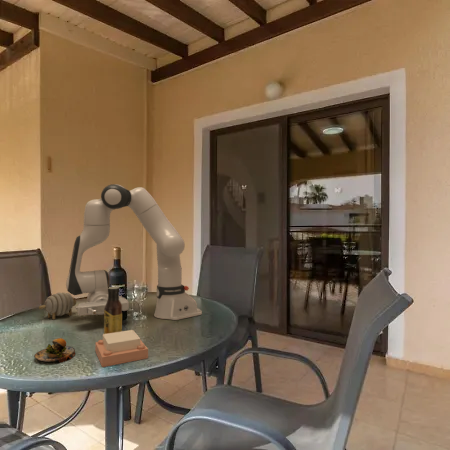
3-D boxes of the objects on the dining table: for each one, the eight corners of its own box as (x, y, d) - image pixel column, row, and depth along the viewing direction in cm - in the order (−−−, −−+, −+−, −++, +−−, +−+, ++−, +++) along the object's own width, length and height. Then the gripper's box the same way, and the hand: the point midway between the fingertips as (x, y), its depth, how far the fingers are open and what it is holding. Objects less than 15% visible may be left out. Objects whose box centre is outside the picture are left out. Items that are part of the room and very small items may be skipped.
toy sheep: (82, 314, 155) (82, 291, 155) (47, 323, 140) (47, 297, 140) (68, 311, 160) (68, 288, 160) (33, 319, 146) (33, 294, 146)
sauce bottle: (103, 339, 122) (103, 286, 122) (120, 337, 124) (121, 284, 124) (104, 345, 116) (104, 289, 116) (122, 343, 118) (123, 288, 118)
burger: (32, 355, 107) (32, 333, 107) (71, 348, 114) (71, 326, 114) (36, 369, 97) (36, 344, 97) (78, 360, 104) (78, 336, 104)
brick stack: (136, 344, 117) (137, 327, 117) (148, 358, 105) (148, 339, 105) (95, 351, 111) (95, 333, 111) (102, 367, 98) (102, 347, 98)
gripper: (75, 298, 137) (78, 306, 125) (124, 294, 148) (132, 301, 135) (74, 313, 137) (78, 322, 125) (124, 308, 148) (132, 316, 135)
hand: (106, 311), depth 131 cm, fingers open, 8 cm apart
